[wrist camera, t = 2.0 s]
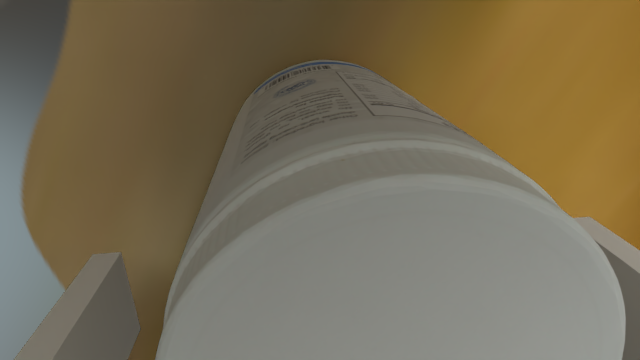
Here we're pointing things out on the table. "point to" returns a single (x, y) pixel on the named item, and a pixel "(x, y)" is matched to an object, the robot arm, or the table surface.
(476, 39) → the table surface
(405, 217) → the supplement tub
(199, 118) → the table surface
